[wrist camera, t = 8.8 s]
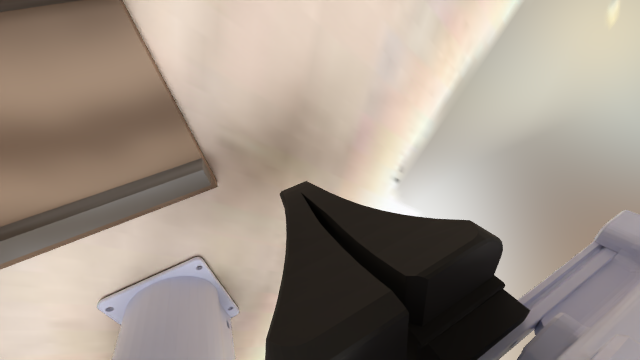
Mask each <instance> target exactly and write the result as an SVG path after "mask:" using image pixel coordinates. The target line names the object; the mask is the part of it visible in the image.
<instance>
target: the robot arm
mask: <svg viewBox="0 0 640 360" xmlns="http://www.w3.org/2000/svg"><path fill="white" fill-rule="evenodd" d="M280 196H281V199H282V202H283V205H284V208H285V214H286V231H287V239H286V255H285V263H284V270H283V276H282V281H281V286H280V290H279V295H278V300H277V304H276V308H275V311H274V315H273V318H272V321H271V325H270V328H269V331H268V335H267V338H266V355H265V360H499V359H500V358H501V357H502V356H503V355H504V354H506V353H507V352H508V351H509V350H511V349H512V348H513V347H514V346H515V345H516V344H518V343H519V342H520V341H521V340H522V339H523V338H525V337H526V336H527V335H528V334H529V333H531V332H532V331H533V330H534V329H535V330H534V331H535V335H536V336H535V337H534V338H533V339H532V340H531V341H530V342H529V343H528V344H527V345H526V346H525V347H524V348H523V351H522V353H521V354H520V356H519V357H518V359H517V360H640V215H639V214H637V213H634V212H632V211H629V210H623V211H621V212H620V213H619V214H618V215H616V216H615V217H614V218H612V219H611V220H610V221H608V222H607V223H606V224H605V225H604V226H603V227H602V228H601V230H600V231H599V232H598V233H597V235H596V236H595V238H594V241H593V242H592V243H591V244H590V245H588V246H587V247H586V248H584V249H583V250H582V251H580V252H579V253H578V254H577V255H575V256H574V257H573V258H571V259H570V260H569V261H567V262H566V263H565V264H564V265H562V266H561V267H560V268H558V269H557V270H556V271H555V272H553V273H552V274H551V275H549V276H548V277H547V278H545V279H544V280H543V281H542V282H540V283H539V284H538V285H536V286H535V287H534V288H533V289H531V290H530V291H529V292H527V293H526V294H525V295H524V296H522V297H521V298H520V299H519V300H516V299H515V298H514V297H512V296H511V295H510V294H509V293H507V292H506V291H505V290H504V289H503V288H504V287H505V284H504V282H502V281H501V280H500V279H498V278H497V277H496V276H494V273H495V271H496V268H497V265H498V263H499V260H500V258H501V255H502V251H503V245H502V241H501V240H500V239H499V238H498V237H496V236H495V235H493V234H491V233H490V232H488V231H486V230H485V229H483V228H482V227H480V226H478V225H477V224H475V223H473V222H472V221H470V220H449V219H433V218H424V217H415V216H408V215H402V214H397V213H391V212H386V211H382V210H378V209H374V208H370V207H367V206H363V205H360V204H357V203H354V202H351V201H349V200H346V199H343V198H341V197H339V196H336V195H334V194H332V193H330V192H327V191H325V190H323V189H321V188H319V187H317V186H315V185H313V184H311V183H309V182H307V181H305V182H303V183H300V184H298V185H296V186H293V187H291V188H288V189H286V190H284V191H281V193H280ZM197 266H200V267H197ZM97 308H98V309H99V310H100V311H102V312H103V313H104V314H106V315H107V316H109V317H110V318H111V319H113V320H114V321H116V322H117V323H118V324H120V325H121V327H120V331H119V335H118V338H117V342H116V346H115V349H114V353H113V357H112V360H236V358H235V350H234V342H233V334H232V327H231V319H230V318H232V317H234V316H236V315H237V314H238V313H239V309H238V307H237V306H236V304H235V303H234V301H233V300H232V299H231V297H230V296H229V295H228V293H227V292H226V290H225V289H224V288H223V286H222V285H221V284H220V282H219V281H218V279H217V278H216V277H215V275H214V274H213V273H212V271H211V270H210V268H209V267H208V266H207V264H206V263H205V262H204V260H203V259H202V258H200V257H195V258H193V259H190V260H188V261H186V262H184V263H181V264H179V265H177V266H175V267H173V268H170V269H168V270H166V271H164V272H161V273H159V274H157V275H155V276H153V277H150V278H148V279H146V280H144V281H141V282H139V283H137V284H135V285H132V286H130V287H128V288H126V289H124V290H121V291H119V292H117V293H115V294H112V295H110V296H108V297H106V298H104V299H102V300H100V301H99V302H98V305H97Z"/></svg>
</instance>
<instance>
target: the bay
mask: <svg viewBox="0 0 640 360" xmlns="http://www.w3.org/2000/svg"><path fill="white" fill-rule="evenodd" d="M216 187H217V181H216V179H215V177H214V175H213V173H212V171H211V169H210V167H209V166H208V164H207V162H206V160H205V158H204V156H203V154H202V152H201V150H200V148H199V146H198V144H197V143H196V141H195V139H194V137H193V135H192V133H191V131H190V129H189V127H188V125H187V123H186V121H185V120H184V118H183V116H182V114H181V112H180V110H179V108H178V106H177V104H176V102H175V100H174V99H173V97H172V95H171V93H170V91H169V89H168V87H167V85H166V83H165V81H164V79H163V77H162V76H161V74H160V72H159V70H158V68H157V66H156V64H155V62H154V60H153V58H152V56H151V55H150V53H149V51H148V49H147V47H146V45H145V43H144V41H143V39H142V37H141V35H140V33H139V32H138V30H137V28H136V26H135V24H134V22H133V20H132V18H131V16H130V14H129V12H128V10H127V9H126V7H125V5H124V3H123V1H122V0H0V269H3V268H5V267H8V266H11V265H13V264H16V263H19V262H21V261H24V260H26V259H29V258H32V257H34V256H37V255H40V254H42V253H45V252H48V251H50V250H53V249H55V248H58V247H61V246H63V245H66V244H69V243H71V242H74V241H76V240H79V239H82V238H84V237H87V236H90V235H92V234H95V233H97V232H100V231H103V230H105V229H108V228H111V227H113V226H116V225H118V224H121V223H124V222H126V221H129V220H132V219H134V218H137V217H139V216H142V215H145V214H147V213H150V212H153V211H155V210H158V209H160V208H163V207H166V206H168V205H171V204H174V203H176V202H179V201H182V200H184V199H187V198H189V197H192V196H195V195H197V194H200V193H203V192H205V191H208V190H210V189H213V188H216Z"/></svg>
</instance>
